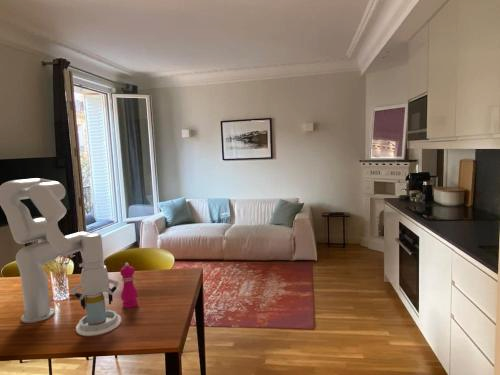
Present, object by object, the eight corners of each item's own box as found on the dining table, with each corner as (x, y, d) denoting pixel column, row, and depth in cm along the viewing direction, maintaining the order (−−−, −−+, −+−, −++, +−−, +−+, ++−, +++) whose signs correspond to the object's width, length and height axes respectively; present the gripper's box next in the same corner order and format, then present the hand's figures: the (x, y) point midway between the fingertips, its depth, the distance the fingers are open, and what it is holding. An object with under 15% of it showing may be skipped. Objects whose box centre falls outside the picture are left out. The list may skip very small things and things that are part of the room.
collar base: (66, 330, 141) (66, 323, 140) (102, 312, 155) (102, 305, 155) (95, 339, 132) (94, 332, 132) (130, 320, 147) (129, 313, 147)
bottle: (101, 317, 149) (97, 282, 147) (109, 321, 144) (106, 286, 143) (84, 323, 143) (81, 288, 142) (93, 328, 139) (89, 292, 137)
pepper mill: (133, 309, 158) (129, 265, 155) (118, 308, 159) (114, 265, 157) (141, 302, 165) (138, 260, 163) (127, 301, 166) (123, 260, 164)
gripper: (68, 270, 135) (72, 313, 136) (116, 263, 141) (120, 305, 143) (70, 265, 142) (74, 306, 143) (116, 258, 148) (119, 298, 150)
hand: (97, 305), depth 143 cm, fingers open, 9 cm apart
